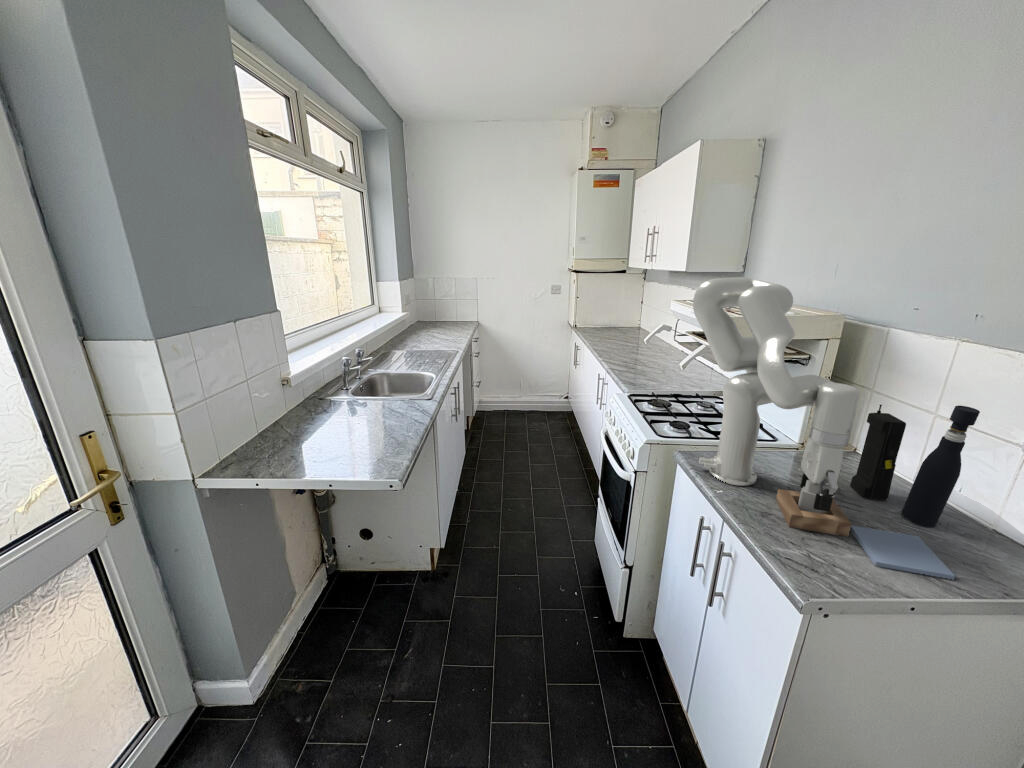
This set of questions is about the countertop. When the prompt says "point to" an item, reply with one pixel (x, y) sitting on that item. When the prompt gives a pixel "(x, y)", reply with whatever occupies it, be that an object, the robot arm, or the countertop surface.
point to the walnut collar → (812, 515)
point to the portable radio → (878, 456)
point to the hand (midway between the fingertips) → (814, 498)
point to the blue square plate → (900, 552)
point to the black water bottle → (939, 472)
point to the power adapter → (809, 497)
